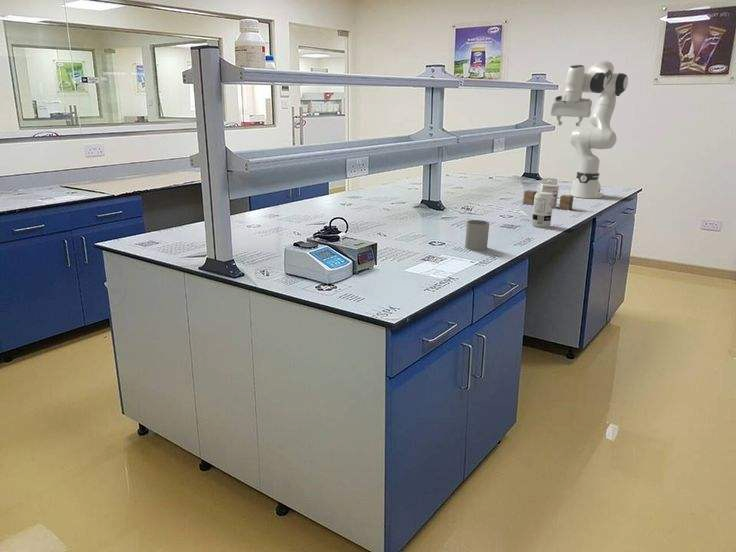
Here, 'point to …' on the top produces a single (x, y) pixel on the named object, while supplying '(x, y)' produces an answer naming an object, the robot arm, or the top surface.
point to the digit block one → (566, 202)
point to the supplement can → (542, 209)
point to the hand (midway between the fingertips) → (568, 125)
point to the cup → (477, 235)
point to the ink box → (550, 188)
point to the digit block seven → (529, 197)
